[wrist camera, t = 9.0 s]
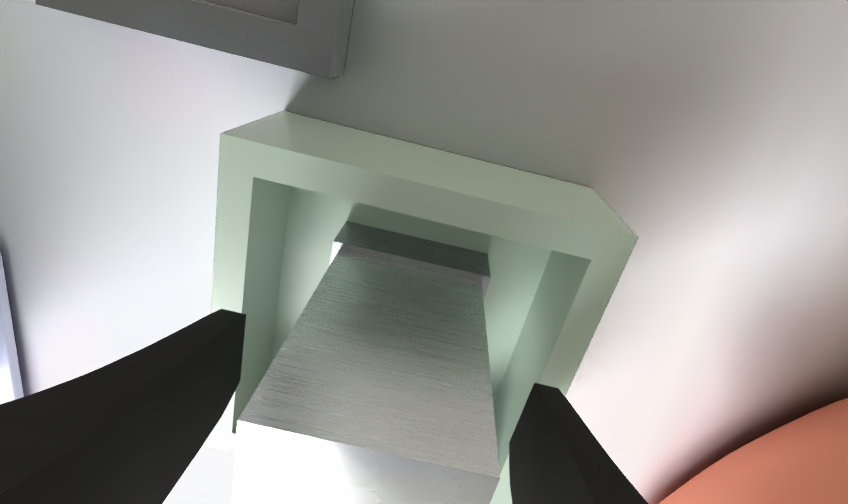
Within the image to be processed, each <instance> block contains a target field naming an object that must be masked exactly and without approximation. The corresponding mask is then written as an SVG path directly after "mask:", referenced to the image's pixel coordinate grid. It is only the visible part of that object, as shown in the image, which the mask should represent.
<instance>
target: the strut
mask: <svg viewBox="0 0 848 504" xmlns="http://www.w3.org/2000/svg"><path fill="white" fill-rule="evenodd" d="M490 278H491V274H490V267H489V260H488V254H487V253H483V252H479V251H474V250H470V249H466V248H461V247H457V246H453V245H448V244H444V243H440V242H435V241H431V240H427V239H422V238H418V237H414V236H409V235H405V234H401V233H396V232H392V231H388V230H384V229H379V228H375V227H371V226H366V225H362V224H358V223H353V222H349V221H346V222H345V224H344V225H343V227H342V228H341V230H340V231H339V233H338V234H337V236H336V238H335V239H334V241H333V246H332V253H331V259H330V266H329V268H328V269H327V271H326V273H325V274H324V276H323V278H322V279H321V281H320V283H319V284H318V286H317V288H316V289H315V291H314V293H313V294H312V296H311V298H310V300H309V301H308V303H307V305H306V306H305V308H304V310H303V311H302V313H301V315H300V316H299V318H298V320H297V321H296V323H295V325H294V326H293V328H292V330H291V331H290V333H289V335H288V336H287V338H286V340H285V342H284V343H283V345H282V347H281V348H280V350H279V352H278V353H277V355H276V357H275V358H274V360H273V362H272V363H271V365H270V367H269V368H268V370H267V372H266V373H265V375H264V377H263V378H262V380H261V382H260V384H259V385H258V387H257V389H256V390H255V392H254V394H253V395H252V397H251V399H250V400H249V402H248V404H247V405H246V407H245V409H244V410H243V412H242V414H241V415H240V417H239V419H238V420H237V434H236V448H235V462H234V477H233V491H232V504H490V502H491V500H492V497H493V495H494V492H495V490H496V487H497V485H498V482H499V480H500V470H499V460H498V449H497V438H496V428H495V417H494V406H493V396H492V385H491V374H490V364H489V353H488V342H487V332H486V321H485V310H484V297H485V294H486V291H487V288H488V285H489V282H490Z"/></svg>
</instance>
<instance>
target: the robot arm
mask: <svg viewBox="0 0 848 504" xmlns="http://www.w3.org/2000/svg"><path fill="white" fill-rule="evenodd" d="M245 322H246V314H242V313H238V312H234V311H230V310H225V309H220V310H218V311H215V312H213V313H211V314H210V315H208V316H206V317H204V318H202V319H200V320H198V321H196V322H194V323H192V324H191V325H189V326H187V327H185V328H183V329H181V330H179V331H177V332H175V333H173V334H171V335H169V336H167V337H165V338H163V339H161V340H159V341H157V342H155V343H153V344H152V345H150V346H148V347H146V348H143V349H141V350H139V351H137V352H135V353H132V354H130V355H128V356H126V357H124V358H121V359H119V360H117V361H115V362H113V363H111V364H108V365H106V366H104V367H102V368H100V369H97V370H95V371H92V372H90V373H88V374H85V375H83V376H80V377H78V378H75V379H73V380H70V381H67V382H65V383H62V384H59V385H56V386H54V387H51V388H48V389H46V390H43V391H40V392H37V393H34V394H31V395H28V396H25V397H24V395H23V388H22V382H21V376H20V369H19V363H18V357H17V350H16V344H15V338H14V331H13V325H12V319H11V312H10V306H9V300H8V293H7V287H6V281H5V274H4V268H3V262H2V256H1V253H0V504H162V503H163V502H164V500H165V499H166V497H167V496H168V494H169V493H170V491H171V490H172V489H173V487H174V486H175V484H176V483H177V481H178V480H179V478H180V477H181V475H182V474H183V473H184V471H185V470H186V468H187V467H188V465H189V464H190V462H191V461H192V460H193V458H194V457H195V455H196V454H197V452H198V451H199V449H200V448H201V447H202V445H203V444H204V442H205V441H206V439H207V438H208V436H209V435H210V433H211V432H212V430H213V429H214V427H215V426H216V425H217V423H218V422H219V420H220V419H221V417H222V415H223V413H224V411H225V409H226V408H227V406H228V404H229V402H230V400H231V398H232V396H233V394H234V392H235V390H236V388H237V386H238V384H239V382H240V379H241V368H242V356H243V345H244V334H245ZM509 476H510V490H511V497H512V504H648V503H647V502H646V501H645V499H644V498H643V497H642V496H641V495H640V494H639V492H638V491H637V490H636V489H635V488H634V486H633V485H632V484H631V483H630V482H629V480H628V479H627V478H626V477H625V476H624V474H623V473H622V472H621V471H620V469H619V468H618V467H617V466H616V464H615V463H614V462H613V461H612V459H611V458H610V457H609V455H608V454H607V453H606V452H605V450H604V449H603V448H602V446H601V445H600V444H599V442H598V441H597V440H596V438H595V437H594V436H593V434H592V433H591V432H590V430H589V429H588V427H587V426H586V425H585V423H584V422H583V421H582V419H581V418H580V417H579V415H578V414H577V412H576V411H575V410H574V408H573V407H572V405H571V404H570V403H569V401H568V400H567V399H566V397H565V396H564V395H563V393H562V392H561V391H560V390H559V388H556V387H551V386H547V385H543V384H539V383H534V385H533V387H532V389H531V392H530V394H529V396H528V399H527V401H526V404H525V406H524V408H523V411H522V413H521V416H520V418H519V420H518V423H517V425H516V427H515V430H514V432H513V435H512V437H511V439H510V442H509Z"/></svg>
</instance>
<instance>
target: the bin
mask: <svg viewBox="0 0 848 504" xmlns="http://www.w3.org/2000/svg"><path fill="white" fill-rule="evenodd" d="M346 221H349V222H353V223H358V224H362V225H366V226H371V227H375V228H379V229H384V230H388V231H392V232H396V233H401V234H405V235H409V236H414V237H418V238H422V239H427V240H431V241H435V242H440V243H444V244H448V245H453V246H457V247H461V248H466V249H470V250H474V251H479V252H483V253H487V254H488V260H489V267H490V274H491V278H490V282H489V285H488V288H487V291H486V294H485V297H484V310H485V321H486V332H487V342H488V353H489V364H490V374H491V385H492V396H493V406H494V417H495V428H496V438H497V449H498V460H499V470H500V480H499V482H498V485H497V487H496V490H495V492H494V495H493V497H492V500H491V502H490V504H512V497H511V490H510V476H509V442H510V439H511V437H512V435H513V432H514V430H515V427H516V425H517V423H518V420H519V418H520V416H521V413H522V411H523V408H524V406H525V404H526V401H527V399H528V396H529V394H530V392H531V389H532V387H533V385H534V383H539V384H543V385H547V386H551V387H556V388H559V390H560V391H561V392H562V393H563V395H564V396H565V395H566V393H567V391H568V389H569V387H570V385H571V382H572V380H573V378H574V376H575V374H576V372H577V369H578V367H579V365H580V363H581V361H582V359H583V356H584V354H585V352H586V350H587V348H588V346H589V343H590V341H591V339H592V337H593V335H594V333H595V330H596V328H597V326H598V324H599V322H600V320H601V317H602V315H603V313H604V311H605V309H606V307H607V304H608V302H609V300H610V298H611V296H612V294H613V291H614V289H615V287H616V285H617V283H618V281H619V278H620V276H621V274H622V272H623V270H624V268H625V265H626V263H627V261H628V259H629V257H630V254H631V252H632V250H633V248H634V246H635V244H636V241H637V239H638V236H637V235H636V234H635V233H634V232H633V231H632V230H631V228H630V227H629V226H628V225H627V224H626V223H625V222H624V221H623V220H622V219H621V218H620V217H619V216H618V215H617V214H616V213H615V211H614V210H613V209H612V208H611V207H610V206H609V205H608V204H607V203H606V202H605V201H604V200H603V199H602V198H601V197H600V196H599V194H598V193H597V192H596V191H595V190H594V189H593V188H590V187H586V186H582V185H578V184H574V183H570V182H566V181H562V180H558V179H554V178H550V177H546V176H542V175H538V174H534V173H530V172H526V171H522V170H518V169H514V168H510V167H506V166H502V165H498V164H494V163H490V162H486V161H482V160H478V159H474V158H470V157H466V156H462V155H458V154H454V153H450V152H446V151H442V150H438V149H434V148H430V147H426V146H422V145H418V144H414V143H410V142H406V141H402V140H398V139H394V138H390V137H386V136H382V135H378V134H374V133H370V132H366V131H362V130H358V129H354V128H350V127H346V126H342V125H338V124H334V123H330V122H326V121H322V120H318V119H314V118H310V117H306V116H302V115H298V114H294V113H290V112H286V111H281V112H278V113H275V114H273V115H270V116H267V117H264V118H262V119H259V120H256V121H253V122H250V123H248V124H245V125H242V126H239V127H237V128H234V129H231V130H228V131H225V132H223V133H220V149H219V168H218V188H217V207H216V227H215V246H214V266H213V285H212V305H211V313H213V312H215V311H218V310H220V309H225V310H230V311H234V312H238V313H242V314H246V322H245V334H244V345H243V356H242V368H241V379H240V382H239V384H238V386H237V388H236V390H235V392H234V394H233V396H232V398H231V400H230V402H229V404H228V406H227V408H226V409H225V411H224V413H223V415H222V417H221V419H220V420H219V422H218V423H217V425H216V426H215V427H214V429H213V430H212V432H211V433H210V435H209V436H208V438H207V439H206V441H205V442H204V446H205V447H210V448H214V449H219V450H223V451H227V452H232V453H235V448H236V434H237V420H238V419H239V417H240V415H241V414H242V412H243V410H244V409H245V407H246V405H247V404H248V402H249V400H250V399H251V397H252V395H253V394H254V392H255V390H256V389H257V387H258V385H259V384H260V382H261V380H262V378H263V377H264V375H265V373H266V372H267V370H268V368H269V367H270V365H271V363H272V362H273V360H274V358H275V357H276V355H277V353H278V352H279V350H280V348H281V347H282V345H283V343H284V342H285V340H286V338H287V336H288V335H289V333H290V331H291V330H292V328H293V326H294V325H295V323H296V321H297V320H298V318H299V316H300V315H301V313H302V311H303V310H304V308H305V306H306V305H307V303H308V301H309V300H310V298H311V296H312V294H313V293H314V291H315V289H316V288H317V286H318V284H319V283H320V281H321V279H322V278H323V276H324V274H325V273H326V271H327V269H328V268H329V266H330V259H331V253H332V246H333V241H334V239H335V238H336V236H337V234H338V233H339V231H340V230H341V228H342V227H343V225H344V224H345V222H346Z"/></svg>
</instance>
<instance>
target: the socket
mask: <svg viewBox="0 0 848 504" xmlns="http://www.w3.org/2000/svg"><path fill="white" fill-rule="evenodd" d="M36 4H38V5H42V6H46V7H49V8H53V9H57V10H61V11H65V12H69V13H73V14H77V15H81V16H85V17H89V18H93V19H97V20H101V21H105V22H109V23H113V24H117V25H121V26H125V27H128V28H132V29H136V30H140V31H144V32H148V33H152V34H156V35H160V36H164V37H168V38H172V39H176V40H180V41H184V42H188V43H192V44H196V45H200V46H204V47H207V48H211V49H215V50H219V51H223V52H227V53H231V54H235V55H239V56H243V57H247V58H251V59H255V60H259V61H263V62H267V63H271V64H275V65H279V66H283V67H286V68H290V69H294V70H298V71H302V72H306V73H310V74H314V75H318V76H322V77H326V78H334V77H338V76H342V75H343V72H344V65H345V58H346V52H347V45H348V39H349V32H350V25H351V19H352V12H353V6H354V0H299V5H298V14H297V24H292V23H289V22H285V21H281V20H277V19H273V18H269V17H265V16H261V15H257V14H253V13H249V12H246V11H242V10H238V9H234V8H230V7H226V6H222V5H218V4H214V3H210V2H207V1H203V0H36Z"/></svg>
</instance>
